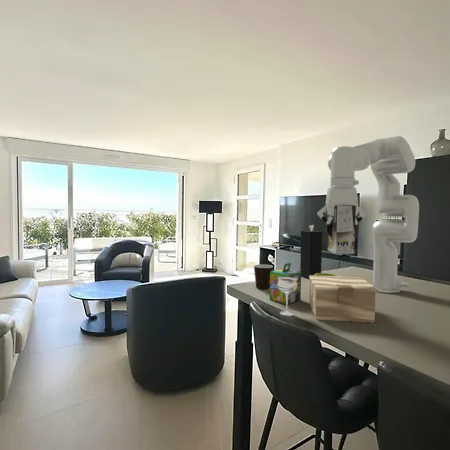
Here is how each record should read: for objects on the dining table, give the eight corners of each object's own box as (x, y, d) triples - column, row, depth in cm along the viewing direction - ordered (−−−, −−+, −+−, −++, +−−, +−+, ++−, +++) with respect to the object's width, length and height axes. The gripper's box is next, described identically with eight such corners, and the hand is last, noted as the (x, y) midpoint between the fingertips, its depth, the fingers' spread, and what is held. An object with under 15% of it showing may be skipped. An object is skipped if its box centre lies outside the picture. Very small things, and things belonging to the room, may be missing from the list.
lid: (308, 288, 115) (309, 274, 115) (361, 290, 112) (361, 276, 112) (315, 302, 98) (315, 286, 98) (377, 305, 95) (377, 289, 95)
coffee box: (355, 254, 100) (356, 205, 99) (335, 254, 100) (336, 205, 99) (345, 250, 109) (346, 205, 108) (326, 250, 109) (328, 205, 109)
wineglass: (284, 317, 100) (284, 281, 100) (273, 311, 106) (273, 277, 106) (301, 315, 103) (301, 279, 102) (289, 309, 109) (289, 275, 109)
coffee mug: (260, 284, 145) (260, 263, 145) (276, 287, 140) (276, 266, 139) (246, 289, 136) (246, 267, 136) (262, 292, 131) (262, 269, 130)
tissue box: (299, 276, 164) (300, 224, 162) (311, 275, 167) (312, 224, 165) (309, 279, 156) (310, 225, 155) (321, 278, 159) (322, 225, 158)
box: (309, 303, 116) (310, 277, 115) (359, 306, 113) (360, 279, 112) (315, 319, 99) (316, 289, 98) (374, 322, 96) (375, 291, 96)
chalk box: (282, 295, 127) (282, 260, 126) (301, 300, 120) (302, 263, 120) (268, 299, 120) (269, 262, 120) (288, 305, 114) (289, 265, 113)
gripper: (365, 184, 106) (364, 235, 107) (314, 185, 109) (313, 234, 110) (372, 182, 99) (371, 237, 99) (317, 183, 101) (316, 236, 102)
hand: (340, 235), depth 104 cm, fingers closed on coffee box, 7 cm apart
